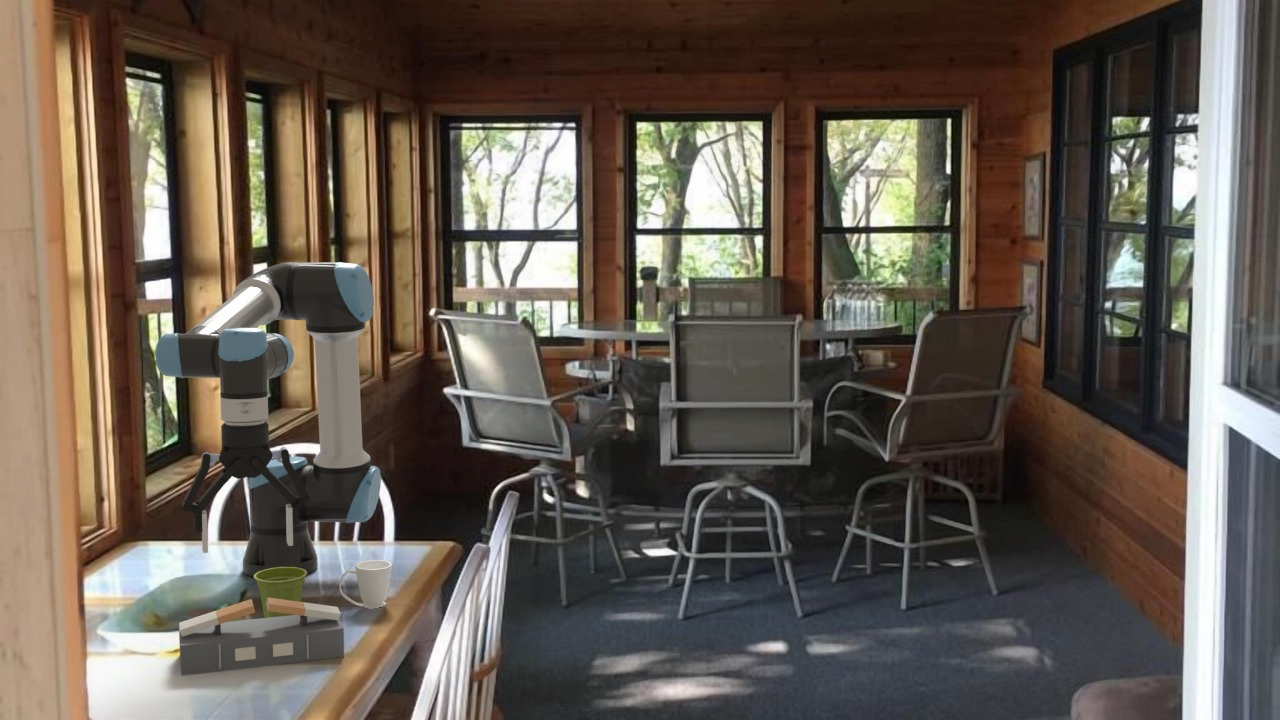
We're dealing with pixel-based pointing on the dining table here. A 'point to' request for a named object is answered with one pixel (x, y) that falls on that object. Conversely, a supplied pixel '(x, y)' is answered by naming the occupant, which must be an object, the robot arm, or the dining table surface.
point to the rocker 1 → (216, 617)
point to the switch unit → (260, 643)
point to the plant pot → (280, 586)
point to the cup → (371, 582)
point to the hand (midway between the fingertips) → (248, 547)
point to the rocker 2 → (303, 608)
